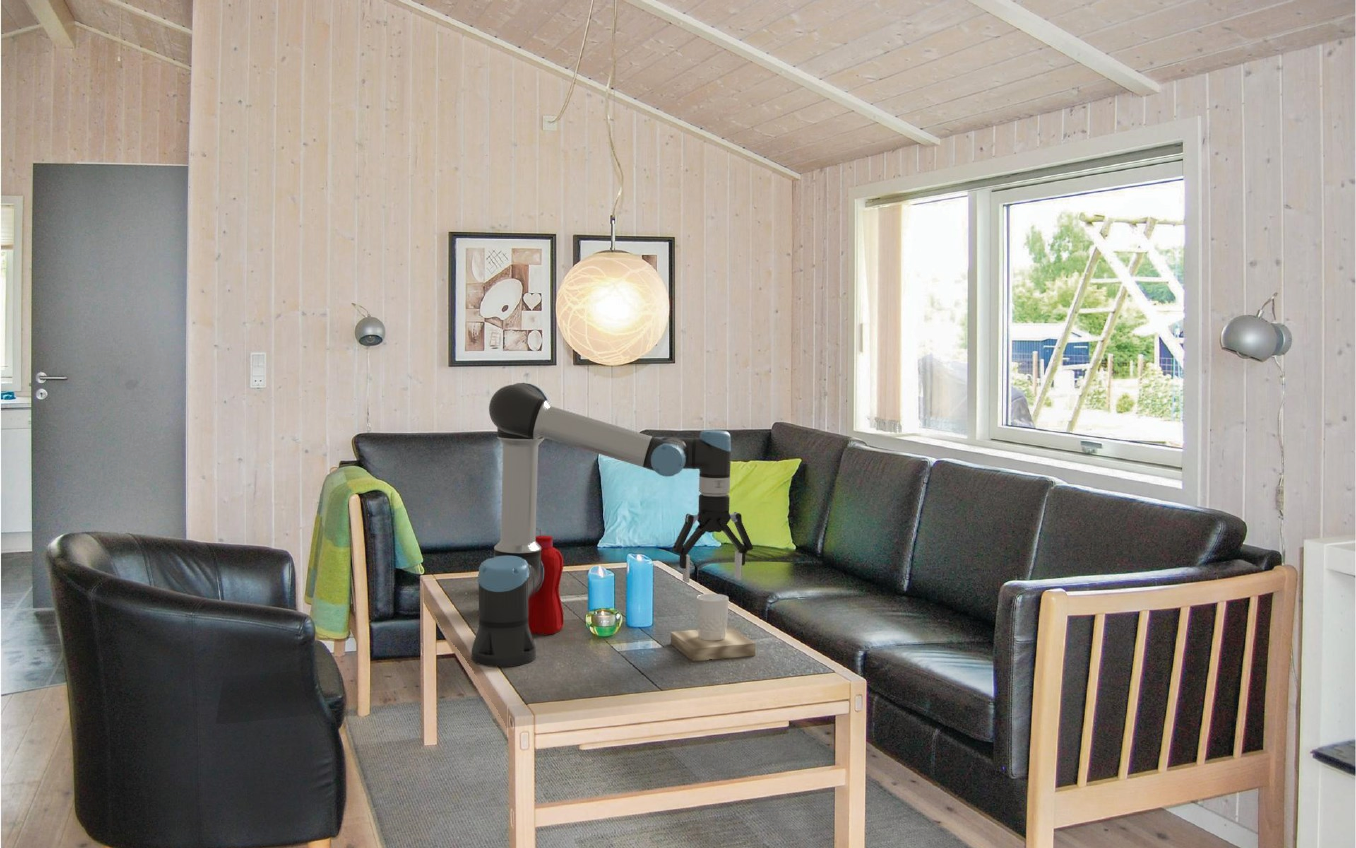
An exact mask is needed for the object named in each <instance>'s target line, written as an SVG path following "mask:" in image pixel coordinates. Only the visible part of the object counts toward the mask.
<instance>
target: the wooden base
mask: <svg viewBox="0 0 1356 848" xmlns="http://www.w3.org/2000/svg"><path fill="white" fill-rule="evenodd" d="M670 644H671V645H672V646H673V645H674V646H675V647H674V648H676V650H678V651H679V652H681V653H682V654H683V655H684V656H685V657H687V658H688V659H690V660H691V661H692V662H698V661H699V662H700V661H708V660H709V659H712V660H721V659H731V658H742V657H752V656H756V642H754V641H753V640H751V639H750V638H748V637H747V636H745V635H744V634H742V633H740V632H739V631H738V630H735V628H732V627H731V626H727V627H726V637H725V639H723V640H717V641H709V640H703V639H700V638H699V637H698V629H688V630H678V631H670ZM709 661H710V660H709Z"/></svg>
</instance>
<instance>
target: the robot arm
mask: <svg viewBox="0 0 1356 848" xmlns="http://www.w3.org/2000/svg"><path fill="white" fill-rule="evenodd" d="M488 405H489V406H488V413H489V416H490V420H491V422H492V423H493V424H494V426H496V429H497V430H496V431H497V432H496V433H497V435H496V437H497V439H498V440H499V442H500V443H502V477H501V479H502V480H501V483H502V484H501V506H500V507H501V510H500V511H501V516H500V540H499V542H497V544H496V545H494V547H493V557H489V558H487V559H485V560H484V561H482V562H481V563H480V565H479V567H478V575H477V581H478V627H477V631H476V634H475V638H474V640H473V644H472V647H471V652H470V653H471V656H470V657H471V661H472V662H473V663H475V664H476V665H477V664H478V665H481V666H484V667H485V666H486V667H502V668H503V667H513V666H520V665H524V664H528V663H530V662H533V661H534V660H535V659H536V658H537V656H536V655H537V647H536V644H535V641H534V637H533V634H532V633H531V632H530V629H529V625H528V599H529V598H530V597H532V596H533V595H534V594H535V593H536V592H537V591H538V590H539V588H540V587H541V585H542V582H543V578H544V567H543V564H542V561H541V546H540V545H539V544H538V543H537V542H536V536H537V535H536V531H537V529H536V528H537V502H538V501H537V500H538V499H537V498H538V497H537V495H538V493H537V491H538V462H539V460H538V459H539V445H541V443H542V442H543V441H544V440H546V439H547V440H551V441H554V442H558V443H562V444H564V445H568V446H571V447H574V448H578V449H580V450H584V451H587V452H591V453H595V454H598V455H600V456H604V457H608V458H611V459H614V460H618V461H621V462H624V463H628V464H630V465H634V466H638V467H642V468H644V469H647V470H650V471H653V472H655V473H657V474H658V475H660V476H662V477H667V478H668V477H669V478H670V477H673V476H675V475H678V474H679V473H681V472H682V470H699V472H698V473H699V475H698V476H699V477H698V479H699V480H698V481H699V482H698V493H700V494H699V495H698V512H697V513H698V514H697V515H696V514H691V513H686V515H685V519H684V520H685V521H684V523H683V526H682V528H681V530H680V532H679V534H678V536H677V538H676V540H675V542H674V543H673V546H672V549H671V550H672V552H673V553H675V554H678V555H679V568H680V569H682V581H683V582H684V583H687V584H688V583H690V574H691V572H690V571H691V570H690V569H691V565H690V564H691V556H690V555H689V553H690V551H691V550H692V549H693V547H694V546H695V545H696V544H697V542H698V541H699V540H700V538H701V537H702V536H704V535H705V534H706V533H709V534H710V533H715V532H716V533H721V532H723V533H724V535H726V537H727V538H728V539H729V540H730V542H731V543H732V544H733V546H734V547H735V548H736V549H737V551H734V573H733V575H734V579H736V580H738V581H739V580H740V581H741V580H742V568H743V566H746V565H745V564H746V554H747V553H748V551H752V550H753V549H754V546H753V543H752V542H751V540H750V538H749V537H750V536H749V535H748V533H747V530H746V529H745V526H744V523H743V520H742V518H743V516H742V513H740V512H737V511H735V512H733V513H730V495H729V493H730V491H731V462H732V461H731V460H732V459H731V458H732V444H731V442H732V441H731V439H732V437H731V434H730V433H729V432H728V431H727V430H719V429H717V430H715V429H712V430H711V429H710V430H709V429H705V430H701V431H700V434H699V437H695V438H687V437H686V438H685V437H667V436H663V437H654V436H651V435H649V434H648V435H647V434H645V433H641V432H638V431H635V430H630V429H629V428H628V429H627V428H625V427H621V426H617V425H615V424H611V423H608V422H605V421H601V420H598V419H594V418H592V417H589V416H585V415H582V414H579V413H575V412H571V411H569V410H566V409H562V408H559V407H555V406H552V405H551V404H550V402H549V399H548V397H547V395H546V393H545V392H544V391H543V390H542V389H541V388H539V387H538V386H537V385H534V384H532V383H526V382H517V383H514V384H508V385H505V386H502V387H500V388H499V389H498V390H497V391H496V392H495V393H494V394H493V395H492V396H491V399H490V401H489V404H488ZM730 521H732V522H733V523H734V526H735V528H736V531H737V533H738V534H739V535H738V536H739V537H740V539H741V541H740V540H739V539H738V537H737V536H736V534H735V533H734V532H733V530H732V529H731V528H730V526H729V525H728V524H729V522H730ZM696 522H698V525H697V526H696V528H695V530H694V532H692V534H691V535H690V537H689V538H688V536H689V534H690V533H691V530H692V528H693V526H694V524H695V523H696Z"/></svg>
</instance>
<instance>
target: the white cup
mask: <svg viewBox="0 0 1356 848" xmlns="http://www.w3.org/2000/svg"><path fill="white" fill-rule="evenodd" d="M729 598H730V597H729V595H726V594H722V593H703V594H699V595H696V618H697V621H696V623H697V627H698V628H697V630H698V637H699V638H700V639H703V640H709V641H717V640H723V639H725V637H726V627H728V616H729V615H728V614H729V601H730V599H729Z"/></svg>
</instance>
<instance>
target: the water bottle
mask: <svg viewBox="0 0 1356 848" xmlns="http://www.w3.org/2000/svg"><path fill="white" fill-rule="evenodd" d="M535 540H536V542H537V543H538V544H539V545H540V546H541V561H542V564H543V567H544V578H543V582H542V585H541V587H540V588H539V590H538V591H537V592H536V593H535V594H534V595H533V596H532V597H530V598H529V599H528V625H529V629H530V632H531V635H545V636H548V635H555V634H557V633H558V632H560V630H562V629H563V626H564V621H565V620H564V609H563V605H562V601H561V596H560V584H561V579H562V574H563V570H564V557H563V556H562V553H561V552H560V551H559V550H558V548H555V547H553V544H554V543H553V536H551V535H542V534H541V535H540V534H539V535H536V536H535Z"/></svg>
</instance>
